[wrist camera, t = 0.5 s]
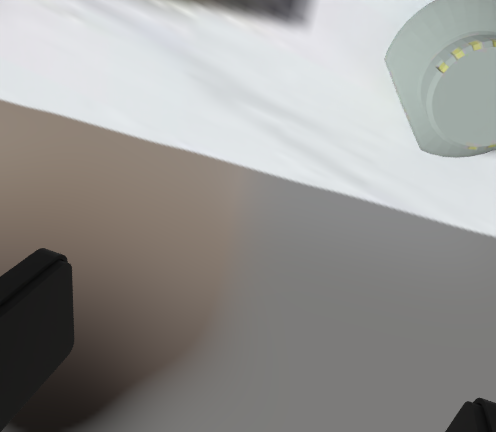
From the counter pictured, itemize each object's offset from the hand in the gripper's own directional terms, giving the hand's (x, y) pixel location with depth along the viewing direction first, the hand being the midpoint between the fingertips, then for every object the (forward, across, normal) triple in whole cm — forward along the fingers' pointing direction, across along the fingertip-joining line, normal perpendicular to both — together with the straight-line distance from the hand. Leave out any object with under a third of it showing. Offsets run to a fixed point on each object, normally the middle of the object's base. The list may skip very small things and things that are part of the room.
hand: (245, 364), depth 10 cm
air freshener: (+29, -7, -4) cm, 30 cm away
